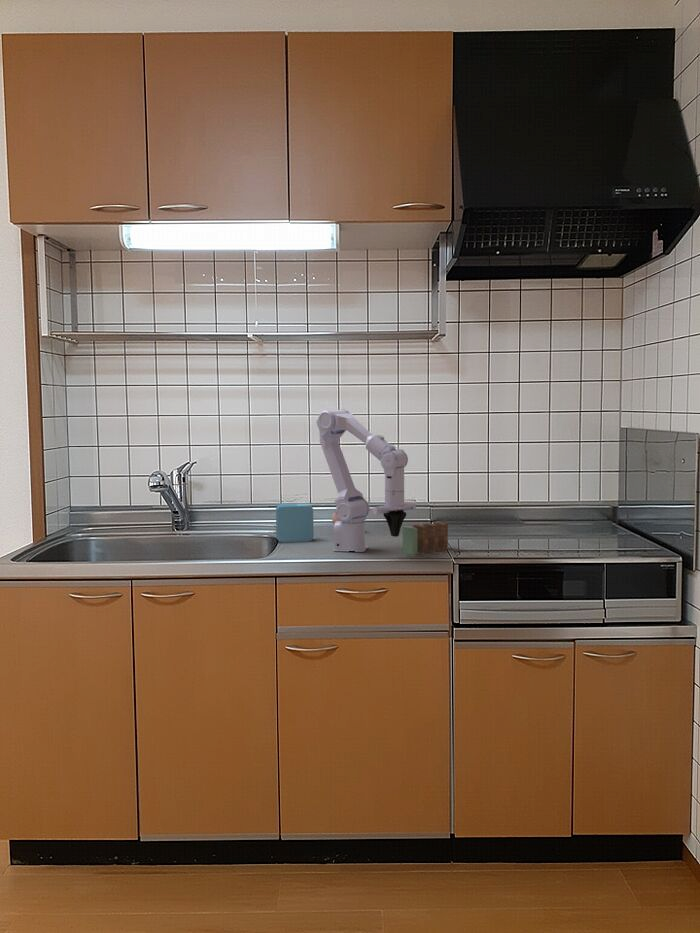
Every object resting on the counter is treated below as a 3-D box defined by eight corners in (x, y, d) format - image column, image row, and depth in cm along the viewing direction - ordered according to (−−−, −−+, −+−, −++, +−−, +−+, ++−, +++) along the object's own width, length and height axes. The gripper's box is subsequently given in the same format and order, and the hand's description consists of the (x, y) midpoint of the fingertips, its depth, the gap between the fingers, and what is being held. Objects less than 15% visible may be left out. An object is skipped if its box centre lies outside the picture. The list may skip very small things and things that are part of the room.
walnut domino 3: (443, 550, 244) (443, 524, 243) (433, 547, 248) (433, 522, 247) (447, 549, 245) (447, 523, 244) (437, 547, 249) (437, 521, 248)
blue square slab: (312, 538, 265) (311, 503, 264) (313, 541, 261) (313, 505, 260) (276, 540, 264) (275, 504, 262) (277, 542, 259) (276, 506, 258)
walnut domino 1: (423, 553, 240) (423, 527, 239) (413, 550, 244) (413, 525, 243) (427, 552, 240) (427, 526, 240) (417, 550, 245) (417, 524, 244)
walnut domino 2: (433, 551, 242) (433, 525, 241) (423, 549, 246) (423, 523, 245) (437, 551, 243) (437, 525, 242) (427, 548, 247) (427, 523, 246)
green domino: (413, 555, 237) (413, 528, 237) (402, 552, 241) (402, 526, 241) (417, 554, 238) (417, 528, 237) (407, 551, 242) (406, 525, 242)
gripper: (382, 494, 228) (383, 540, 229) (422, 490, 236) (422, 535, 237) (368, 491, 233) (369, 537, 235) (407, 487, 241) (407, 531, 243)
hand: (394, 536), depth 236 cm, fingers closed
